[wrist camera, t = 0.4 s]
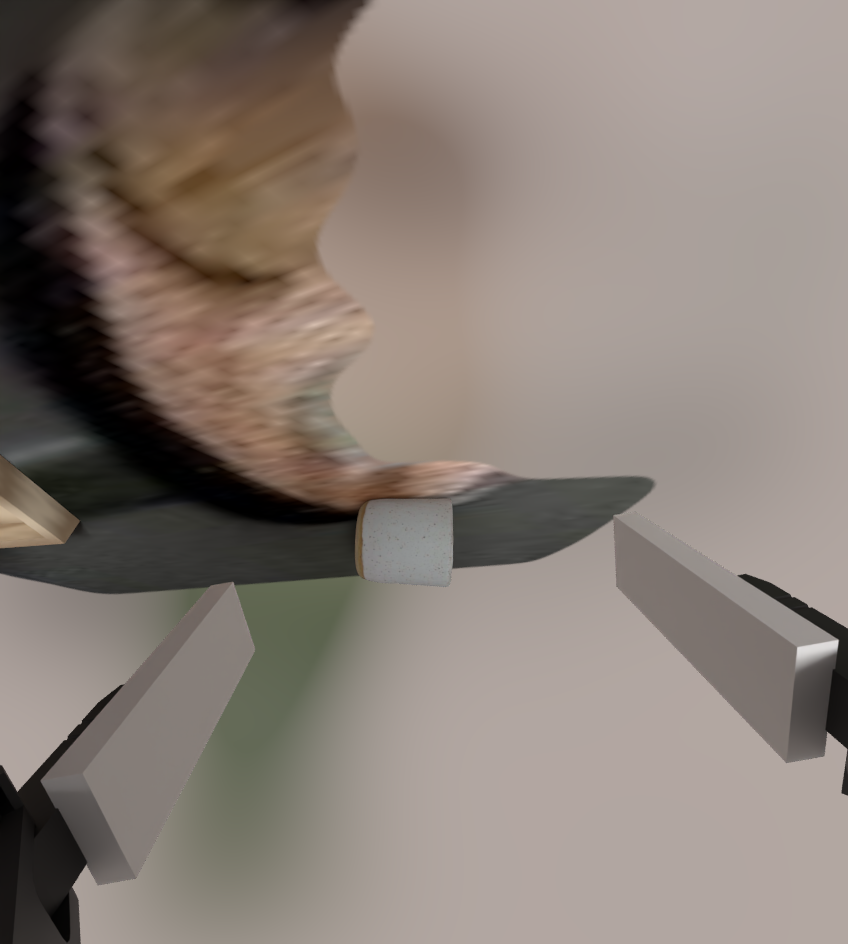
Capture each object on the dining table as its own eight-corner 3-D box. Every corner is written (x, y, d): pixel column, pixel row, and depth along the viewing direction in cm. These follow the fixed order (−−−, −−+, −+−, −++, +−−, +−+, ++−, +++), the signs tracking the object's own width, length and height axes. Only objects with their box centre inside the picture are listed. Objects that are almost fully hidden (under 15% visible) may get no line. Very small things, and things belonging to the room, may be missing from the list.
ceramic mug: (357, 482, 35) (348, 560, 30) (451, 480, 35) (458, 558, 30) (369, 546, 43) (364, 617, 38) (446, 545, 43) (450, 615, 38)
